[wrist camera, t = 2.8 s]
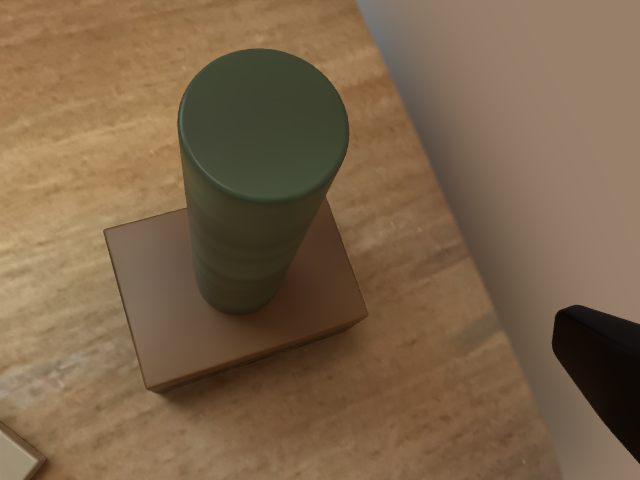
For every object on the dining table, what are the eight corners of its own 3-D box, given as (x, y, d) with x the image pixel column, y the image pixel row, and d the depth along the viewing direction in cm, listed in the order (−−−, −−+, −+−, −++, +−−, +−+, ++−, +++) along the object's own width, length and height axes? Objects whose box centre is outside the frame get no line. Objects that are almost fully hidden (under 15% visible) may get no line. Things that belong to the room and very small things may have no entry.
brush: (346, 330, 22) (529, 212, 9) (156, 394, 20) (63, 356, 8) (303, 206, 23) (414, -51, 10) (118, 257, 21) (-19, 22, 9)
